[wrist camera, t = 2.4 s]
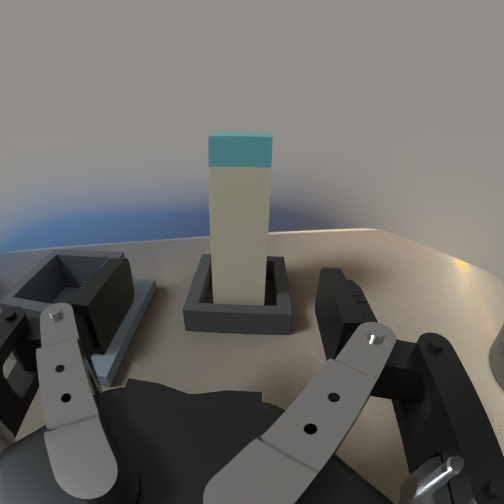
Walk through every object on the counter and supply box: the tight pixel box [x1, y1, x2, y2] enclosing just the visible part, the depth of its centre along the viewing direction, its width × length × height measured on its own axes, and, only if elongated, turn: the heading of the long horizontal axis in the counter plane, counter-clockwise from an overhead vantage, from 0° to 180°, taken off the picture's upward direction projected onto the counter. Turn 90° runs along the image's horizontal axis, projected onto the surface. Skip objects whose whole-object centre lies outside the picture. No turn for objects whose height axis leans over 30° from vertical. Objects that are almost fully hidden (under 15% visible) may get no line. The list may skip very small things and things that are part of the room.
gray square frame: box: [183, 254, 292, 334], centre depth 26 cm, size 8×9×2 cm
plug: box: [209, 131, 272, 305], centre depth 23 cm, size 4×5×14 cm
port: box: [0, 250, 157, 387], centre depth 21 cm, size 12×12×4 cm
